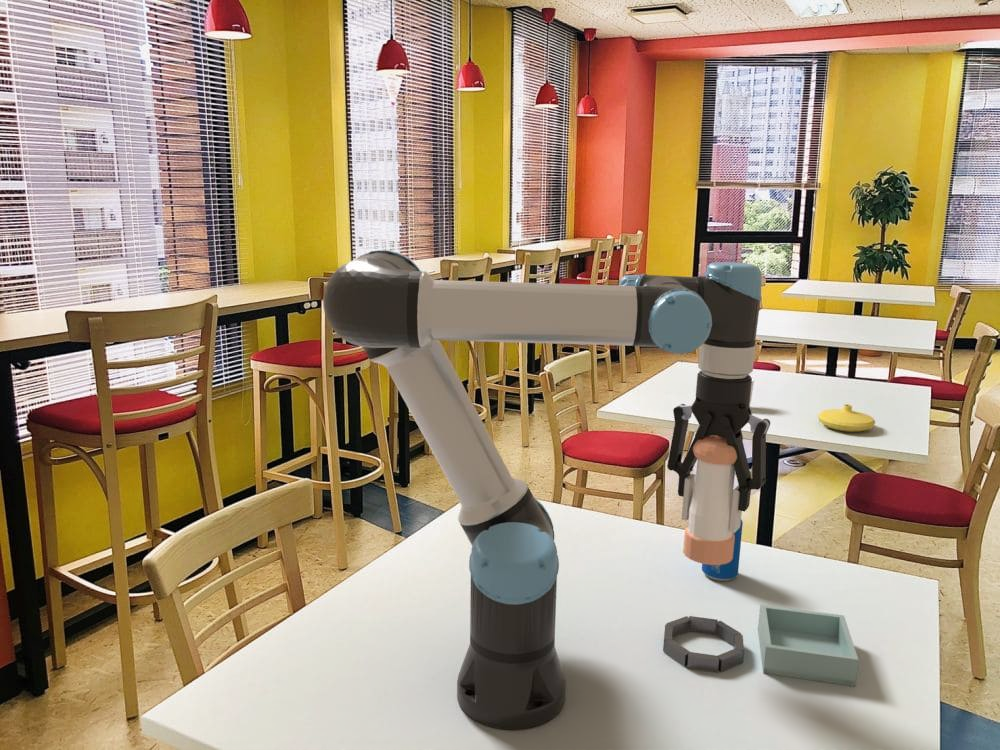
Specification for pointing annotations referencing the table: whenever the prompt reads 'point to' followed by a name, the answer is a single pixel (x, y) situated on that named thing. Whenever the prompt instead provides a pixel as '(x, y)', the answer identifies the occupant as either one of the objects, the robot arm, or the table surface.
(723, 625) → the collar
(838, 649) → the bin
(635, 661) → the table surface
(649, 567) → the table surface
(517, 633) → the robot arm
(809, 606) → the table surface
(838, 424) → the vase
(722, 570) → the beverage can
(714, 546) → the salt shaker
